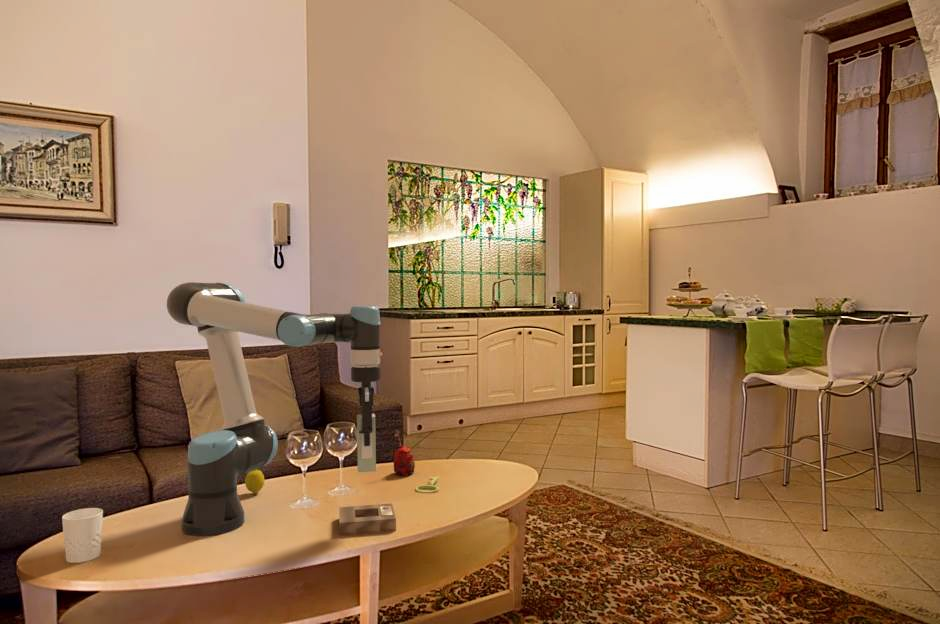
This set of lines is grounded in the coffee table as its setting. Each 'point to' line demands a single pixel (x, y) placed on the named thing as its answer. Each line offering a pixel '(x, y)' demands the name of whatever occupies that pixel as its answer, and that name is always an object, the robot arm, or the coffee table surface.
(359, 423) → the sage peg
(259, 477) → the fruit
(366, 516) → the socket block
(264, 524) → the coffee table surface
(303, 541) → the coffee table surface
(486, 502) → the coffee table surface
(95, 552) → the white cup
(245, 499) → the coffee table surface
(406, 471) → the red clay folk toy
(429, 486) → the key
